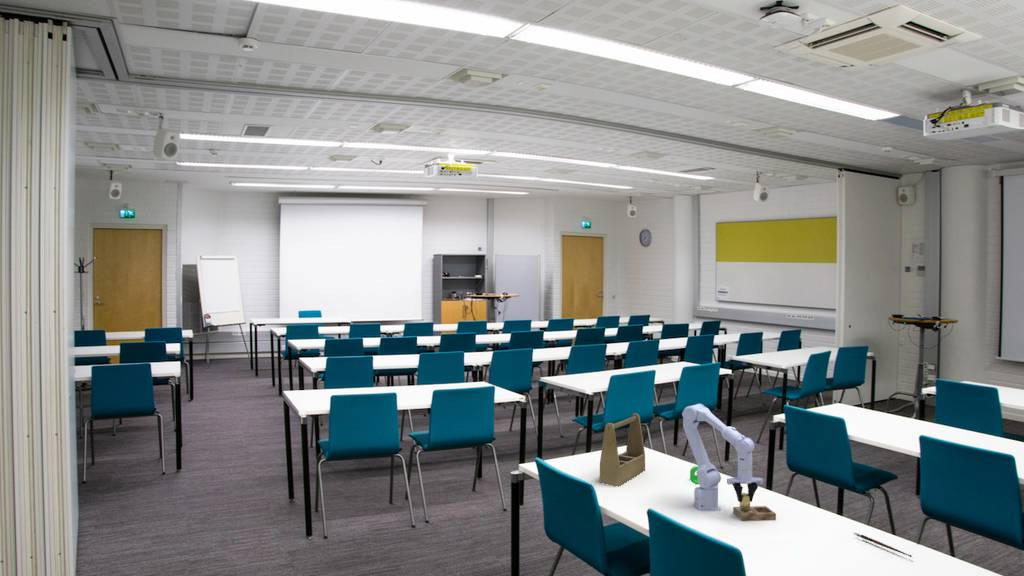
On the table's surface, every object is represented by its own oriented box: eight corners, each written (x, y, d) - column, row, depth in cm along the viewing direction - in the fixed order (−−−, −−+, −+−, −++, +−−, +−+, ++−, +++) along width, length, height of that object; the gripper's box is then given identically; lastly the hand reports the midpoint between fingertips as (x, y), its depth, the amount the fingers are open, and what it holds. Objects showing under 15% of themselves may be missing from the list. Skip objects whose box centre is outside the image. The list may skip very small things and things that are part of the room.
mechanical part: (695, 486, 313) (695, 469, 313) (690, 483, 319) (690, 466, 319) (719, 485, 315) (719, 468, 315) (713, 481, 321) (713, 465, 321)
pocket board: (742, 520, 268) (742, 514, 268) (733, 512, 277) (733, 506, 277) (775, 519, 269) (775, 513, 269) (765, 512, 278) (765, 505, 278)
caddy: (626, 470, 340) (626, 411, 340) (645, 473, 334) (645, 414, 333) (599, 484, 316) (599, 421, 316) (619, 488, 310) (619, 424, 310)
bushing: (742, 510, 271) (742, 496, 271) (738, 507, 275) (738, 493, 275) (751, 510, 271) (751, 496, 271) (747, 507, 275) (747, 492, 275)
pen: (851, 534, 253) (910, 557, 233) (852, 531, 253) (911, 554, 233) (853, 534, 254) (912, 557, 233) (854, 531, 254) (913, 554, 233)
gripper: (731, 471, 268) (731, 504, 268) (766, 470, 269) (766, 503, 269) (724, 466, 275) (724, 499, 275) (758, 465, 276) (758, 498, 277)
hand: (744, 501), depth 273 cm, fingers closed on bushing, 4 cm apart
